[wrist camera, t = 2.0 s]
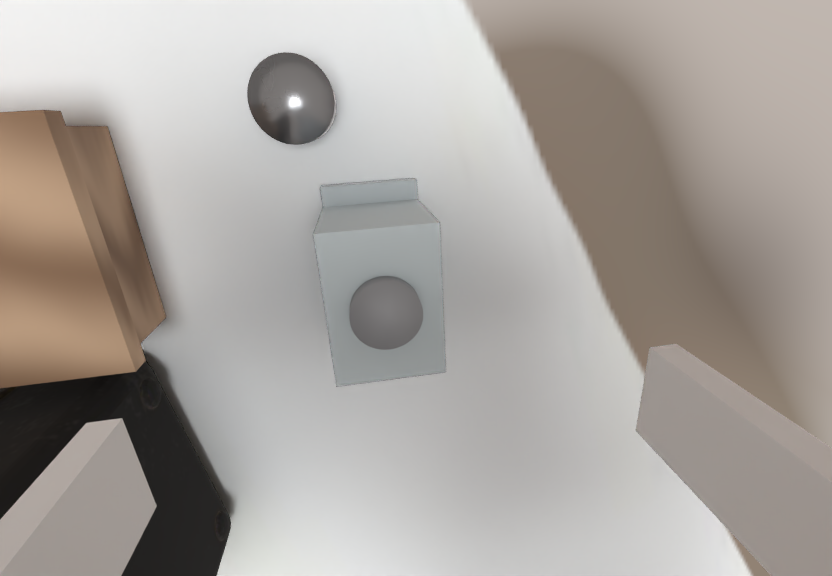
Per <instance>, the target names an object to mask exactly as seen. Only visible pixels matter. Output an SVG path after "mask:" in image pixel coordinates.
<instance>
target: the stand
mask: <svg viewBox="0 0 832 576" xmlns="http://www.w3.org/2000/svg"><path fill="white" fill-rule="evenodd" d="M165 318H166V315H165V312H164V308H163V305H162V302H161V299H160V295H159V292H158V289H157V286H156V282H155V279H154V276H153V273H152V269H151V266H150V263H149V260H148V256H147V253H146V250H145V247H144V243H143V240H142V237H141V234H140V230H139V227H138V224H137V221H136V217H135V214H134V211H133V208H132V204H131V201H130V198H129V195H128V191H127V188H126V185H125V182H124V179H123V175H122V172H121V169H120V166H119V162H118V159H117V156H116V153H115V149H114V146H113V143H112V140H111V136H110V133H109V130H108V127H107V126H66V125H65V122H64V119H63V116H62V113H61V111H50V110H35V111H17V112H0V388H7V387H15V386H24V385H32V384H40V383H48V382H56V381H64V380H72V379H80V378H89V377H97V376H105V375H113V374H121V373H129V372H136V371H137V370H138V369H139V368H140V367H141V365H142V364H143V363H144V362H145V361H146V359H145V356H144V353H143V350H142V347H141V344H140V343H141V342H142V341H143V340H144V339H145V338H146V337H147V336H148V335H149V334H150V333H151V332H152V331H153V330H154V329H155V328H156V327H157V326H158V325H159V324H160V323H161V322H162V321H163V320H164V319H165Z"/></svg>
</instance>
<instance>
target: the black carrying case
mask: <svg viewBox="0 0 832 576" xmlns="http://www.w3.org/2000/svg"><path fill="white" fill-rule="evenodd" d="M119 418H122V419H123V421H124V424H125V427H126V429H127V432H128V434H129V437H130V439H131V442H132V444H133V447H134V449H135V452H136V455H137V457H138V460H139V462H140V465H141V467H142V470H143V472H144V475H145V477H146V480H147V483H148V485H149V488H150V490H151V493H152V495H153V498H154V500H155V503H156V505H157V507H156V509H155V511H154V513H153V515H152V516H151V518H150V520H149V522H148V524H147V526H146V528H145V530H144V532H143V534H142V536H141V538H140V540H139V542H138V544H137V546H136V548H135V550H134V552H133V554H132V556H131V558H130V560H129V562H128V564H127V565H126V567H125V569H124V571H123V573H122V575H121V576H216V575H217V572H218V569H219V565H220V562H221V559H222V555H223V552H224V549H225V546H226V542H227V539H228V536H229V532H230V528H231V521H230V517H229V515H228V513H227V511H226V509H225V507H224V505H223V503H222V501H221V500H220V498H219V496H218V494H217V492H216V490H215V488H214V486H213V484H212V482H211V481H210V479H209V477H208V475H207V473H206V471H205V469H204V467H203V465H202V463H201V462H200V460H199V458H198V456H197V454H196V452H195V450H194V448H193V446H192V444H191V442H190V441H189V439H188V437H187V435H186V433H185V431H184V429H183V427H182V425H181V423H180V422H179V420H178V418H177V416H176V414H175V412H174V410H173V408H172V406H171V404H170V403H169V401H168V399H167V397H166V395H165V393H164V391H163V389H162V387H161V385H160V384H159V382H158V380H157V378H156V376H155V374H154V372H153V370H152V368H151V367H150V366H149V365H148V363H147V362H146V361H145V362H144V363H143V364H142V365H141V367H140V368H139V369H138V370H137V371H136V372H129V373H121V374H113V375H105V376H97V377H89V378H80V379H72V380H64V381H56V382H48V383H40V384H32V385H24V386H15V387H7V388H0V519H1V518H2V517H3V516H4V515H5V514H6V513H7V512H8V510H9V509H10V508H11V507H12V506H13V505H14V504H15V503H16V501H17V500H18V499H19V498H20V497H21V496H22V495H23V494H24V492H25V491H26V490H27V489H28V488H29V487H30V486H31V485H32V483H33V482H34V481H35V480H36V479H37V478H38V477H39V476H40V474H41V473H42V472H43V471H44V470H45V469H46V468H47V467H48V465H49V464H50V463H51V462H52V461H53V460H54V459H55V458H56V456H57V455H58V454H59V453H60V452H61V451H62V450H63V449H64V447H65V446H66V445H67V444H68V443H69V442H70V441H71V440H72V438H73V437H74V436H75V435H76V434H77V433H78V432H79V431H80V430H81V428H82V427H83V426H84V425H85V424H86V423H90V422H97V421H104V420H112V419H119Z"/></svg>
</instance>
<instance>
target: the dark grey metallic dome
mask: <svg viewBox="0 0 832 576" xmlns="http://www.w3.org/2000/svg"><path fill="white" fill-rule="evenodd" d="M248 103H249V107H250V110H251V113H252V115H253V117H254V119H255V121H256V122H257V124H258V125H259V126H260V127H261V129H262V130H263V131H264V132H266V133H267V134H268V135H269V136H271V137H272V138H274V139H276V140H278V141H280V142H283V143H287V144H304V143H308V142H311V141H314V140H316V139H319V138H320V137H322V136H323V135H324V134H325V133H326V132H327V131H328V130H329V129H330V127H331V126H332V124H333V122H334V119H335V115H336V98H335V94H334V91H333V89H332V87H331V84H330V82H329V80H328V78H327V77H326V75H325V74H324V72H323V71H322V70H321V69H320V68H319V67H318V66H317V65H316V64H315V63H314V62H313V61H311V60H309V59H308V58H306V57H304V56H301V55H298V54H294V53H278V54H274V55H271V56H269V57H267V58H266V59H264V60H263V61H262V62H260V63H259V64H258V66H257V67H256V68H255V69H254V71H253V73H252V75H251V77H250V80H249V84H248Z"/></svg>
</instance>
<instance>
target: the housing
mask: <svg viewBox="0 0 832 576" xmlns="http://www.w3.org/2000/svg"><path fill="white" fill-rule="evenodd" d="M320 190H321V197H322V205H323V208H322V211H321V214H320V217H319V219H318V222H317V225H316V228H315V230H314V233H313V237H314V243H315V250H316V256H317V263H318V269H319V276H320V282H321V289H322V295H323V302H324V308H325V315H326V321H327V328H328V334H329V341H330V347H331V354H332V360H333V367H334V374H335V380H336V387H339V386H346V385H354V384H361V383H369V382H376V381H384V380H391V379H399V378H406V377H414V376H421V375H429V374H436V373H444V372H446V361H445V336H444V311H443V286H442V261H441V236H440V222H439V221H438V220H437V219H436V218H435V217H434V216H433V215H432V214H431V212H430V211H429V210H428V209H427V208H426V207H425V206H424V205H423V204H422V203H421V202H420V201H419V200H418V193H417V180H416V179H415V178H408V179H396V180H383V181H370V182H358V183H345V184H333V185H321V187H320Z"/></svg>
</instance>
